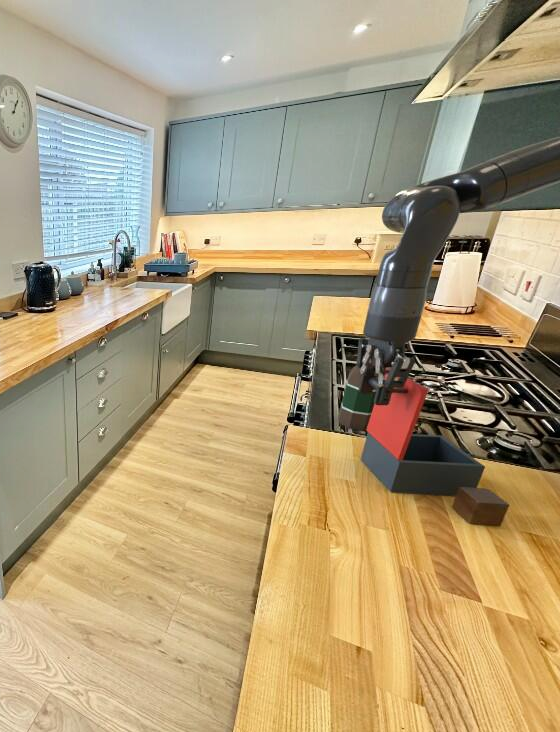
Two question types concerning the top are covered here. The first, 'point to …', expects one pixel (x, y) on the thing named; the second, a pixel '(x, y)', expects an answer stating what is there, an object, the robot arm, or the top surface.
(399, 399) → the lid
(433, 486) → the food box
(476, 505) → the block
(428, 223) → the robot arm
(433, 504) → the top surface
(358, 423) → the beer bottle
